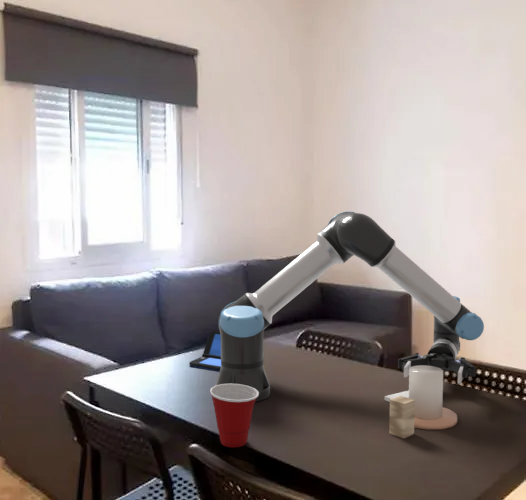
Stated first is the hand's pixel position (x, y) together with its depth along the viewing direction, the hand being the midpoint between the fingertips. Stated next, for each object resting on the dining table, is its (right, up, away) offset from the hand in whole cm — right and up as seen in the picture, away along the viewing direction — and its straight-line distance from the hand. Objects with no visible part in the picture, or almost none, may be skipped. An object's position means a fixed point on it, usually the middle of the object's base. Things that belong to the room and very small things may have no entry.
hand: (431, 375), depth 161 cm
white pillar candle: (-4, -8, -8) cm, 12 cm away
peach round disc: (-4, -9, -8) cm, 13 cm away
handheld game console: (-58, -5, +40) cm, 70 cm away
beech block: (-12, -10, -18) cm, 24 cm away
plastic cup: (-50, -11, -23) cm, 56 cm away
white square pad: (-4, -8, +3) cm, 9 cm away
